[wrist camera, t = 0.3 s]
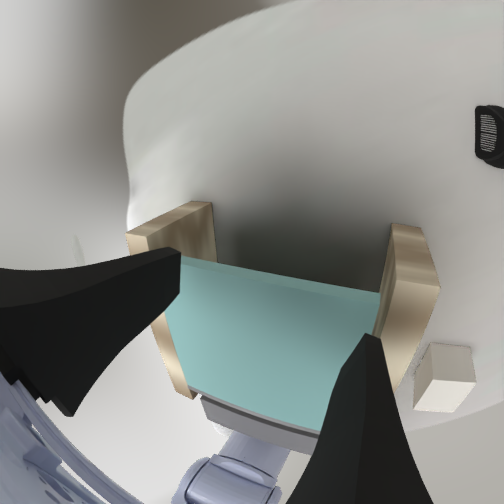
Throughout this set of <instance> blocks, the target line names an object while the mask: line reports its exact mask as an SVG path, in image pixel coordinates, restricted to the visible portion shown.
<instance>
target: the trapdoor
mask: <svg viewBox="0 0 504 504" xmlns="http://www.w3.org/2000/svg"><path fill="white" fill-rule="evenodd" d="M380 296H381V293H376V292H370V291H364V290H359V289H353V288H347V287H342V286H336V285H330V284H325V283H319V282H314V281H309V280H303V279H298V278H292V277H287V276H282V275H277V274H271V273H266V272H261V271H256V270H251V269H245V268H240V267H235V266H230V265H225V264H220V263H215V262H210V261H205V260H201V259H196V258H191V257H186V256H181V273H180V293H179V295H178V296H177V297H176V298H175V300H174V301H173V302H172V303H171V304H170V305H169V307H168V308H167V309H166V310H165V311H164V313H165V316H166V320H167V323H168V327H169V330H170V333H171V337H172V340H173V343H174V346H175V349H176V352H177V356H178V359H179V362H180V365H181V367H182V370H183V373H184V376H185V379H186V382H187V384H188V385H187V387H188V389H190V390H193V391H195V392H197V393H199V394H201V395H202V397H201V398H200V399H201V402H202V405H203V407H204V411H205V413H206V416H207V418H208V419H209V420H211V421H213V422H215V423H218V424H220V425H222V426H225V427H227V428H229V429H232V430H234V431H237V432H240V433H242V434H245V435H247V436H250V437H253V438H256V439H258V440H261V441H264V442H267V443H270V444H273V445H277V446H280V447H283V448H286V449H290V450H293V451H297V452H301V453H304V454H309V455H312V454H313V452H314V449H315V446H316V444H317V441H318V438H319V434H320V431H321V428H322V425H323V421H324V418H325V415H326V411H327V408H328V404H329V400H330V397H331V393H332V390H333V388H334V385H335V382H336V380H337V377H338V375H339V372H340V369H341V367H342V366H343V365H344V363H345V362H346V360H347V359H348V357H349V356H350V355H351V353H352V352H353V350H354V349H355V347H356V346H357V344H358V343H359V341H360V340H361V338H362V337H363V335H364V334H365V333H367V334H370V335H371V334H372V331H373V327H374V324H375V320H376V317H377V313H378V309H379V306H380Z"/></svg>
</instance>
